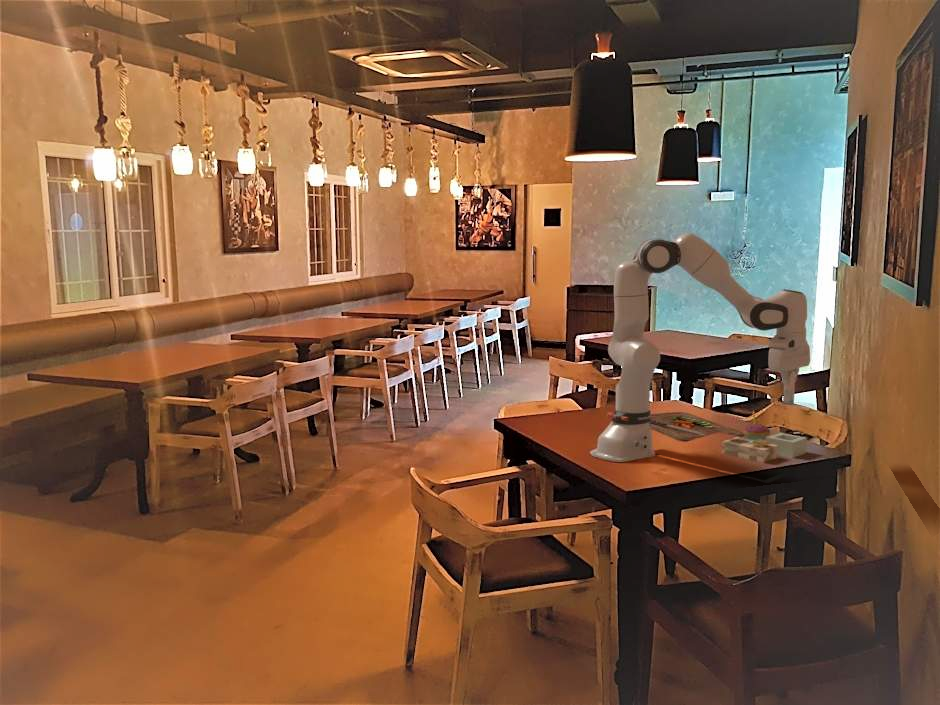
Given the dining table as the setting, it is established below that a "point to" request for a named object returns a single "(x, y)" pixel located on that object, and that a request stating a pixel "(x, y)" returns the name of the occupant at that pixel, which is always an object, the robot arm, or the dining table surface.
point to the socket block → (749, 450)
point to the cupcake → (756, 430)
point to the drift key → (760, 443)
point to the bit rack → (789, 444)
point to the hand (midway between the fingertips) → (789, 382)
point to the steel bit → (789, 389)
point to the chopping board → (687, 426)
